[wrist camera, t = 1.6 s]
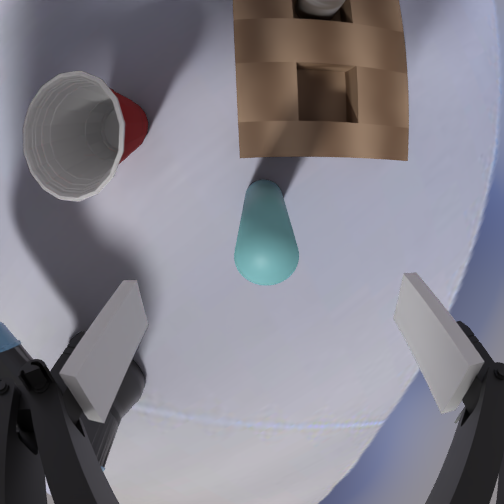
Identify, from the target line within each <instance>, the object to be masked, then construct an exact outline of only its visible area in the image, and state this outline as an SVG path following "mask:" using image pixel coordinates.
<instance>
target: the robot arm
mask: <svg viewBox="0 0 504 504" xmlns="http://www.w3.org/2000/svg"><path fill="white" fill-rule="evenodd" d="M393 319H394V321H395V323H396V324H397V326H398V328H399V330H400V332H401V334H402V335H403V337H404V339H405V341H406V343H407V345H408V347H409V349H410V350H411V352H412V354H413V356H414V358H415V360H416V362H417V364H418V366H419V368H420V370H421V372H422V374H423V376H424V378H425V380H426V382H427V384H428V386H429V388H430V390H431V393H432V395H433V397H434V399H435V401H436V403H437V405H438V407H439V410H440V412H441V414H443V413H447V412H450V411H453V410H456V409H457V407H458V406H459V404H460V403H461V401H463V403H464V404H465V407H464V409H463V410H462V412H461V413H460V415H459V416H458V417H457V419H456V421H455V423H457V422H458V421H459V423H458V426H457V429H456V432H455V435H454V438H453V441H452V444H451V446H450V449H449V452H448V454H447V457H446V459H445V462H444V464H443V467H442V469H441V471H440V474H439V476H438V478H437V480H436V483H435V485H434V487H433V489H432V491H431V493H430V495H429V497H428V499H427V501H426V503H425V504H489V503H490V500H491V497H492V494H493V491H494V488H495V484H496V481H497V477H498V474H499V481H498V491H497V501H496V504H504V364H503V363H498V362H497V363H495V362H494V361H493V360H492V358H491V357H490V356H489V354H488V353H487V351H486V350H485V348H484V347H483V346H482V344H481V343H480V342H479V340H478V339H477V338H476V336H474V333H473V332H472V331H471V330H470V328H469V327H468V326H466V325H465V324H464V323H462V322H461V321H457V322H456V321H455V320H454V319H453V317H452V316H451V315H450V313H449V312H448V311H447V310H446V308H445V307H444V306H443V304H442V303H441V302H440V301H439V299H438V298H437V297H436V296H435V295H434V293H433V292H432V291H431V290H430V288H429V287H428V286H427V285H426V284H425V282H424V281H423V280H422V279H421V278H420V277H419V275H418V274H417V273H403V278H402V283H401V287H400V292H399V296H398V301H397V305H396V309H395V313H394V317H393ZM148 325H149V324H148V321H147V317H146V313H145V310H144V306H143V302H142V298H141V294H140V291H139V286H138V282H137V280H123V282H122V283H121V284H120V286H119V287H118V288H117V290H116V291H115V292H114V294H113V295H112V296H111V298H110V299H109V300H108V302H107V303H106V305H105V306H104V307H103V309H102V310H101V311H100V313H99V314H98V316H97V317H96V318H95V320H94V321H93V323H92V324H91V326H90V327H89V329H88V330H87V331H86V332H80V333H79V334H77V335H76V336H75V337H74V338H73V339H72V340H71V341H70V343H69V344H68V346H67V348H66V349H65V350H64V352H63V354H62V355H61V356H60V358H59V359H58V360H57V362H56V364H55V365H54V367H53V368H52V370H51V371H49V369H48V368H47V366H46V364H45V362H43V361H42V360H39V359H33V358H32V357H31V356H30V355H29V354H28V352H27V351H26V350H25V349H24V348H23V346H22V345H21V342H20V341H19V340H17V339H16V338H15V337H14V336H13V334H12V333H11V332H10V331H9V330H8V328H7V327H6V326H5V325H4V324H3V323H2V322H0V504H47V497H46V485H45V476H46V479H47V483H48V486H49V489H50V492H51V495H52V497H53V500H54V503H55V504H119V502H118V500H117V499H116V497H115V495H114V493H113V491H112V489H111V487H110V485H109V483H108V481H107V479H106V477H105V475H104V473H103V471H104V470H105V468H104V467H105V464H106V461H107V458H108V455H109V452H110V449H111V446H112V443H113V441H114V438H115V435H116V432H117V429H118V426H119V424H120V421H121V419H122V417H123V416H124V415H125V414H126V413H127V412H128V411H129V410H130V409H131V408H132V406H133V405H134V404H135V403H136V402H137V401H138V400H139V399H140V397H141V395H142V392H143V390H144V387H145V379H144V376H143V374H142V372H141V370H140V368H139V367H138V365H137V364H136V363H135V362H134V361H133V360H132V359H133V356H134V354H135V352H136V350H137V348H138V346H139V344H140V341H141V339H142V337H143V335H144V333H145V331H146V329H147V327H148ZM459 419H460V420H459Z"/></svg>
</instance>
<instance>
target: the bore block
mask: <svg viewBox="0 0 504 504" xmlns="http://www.w3.org/2000/svg"><path fill="white" fill-rule="evenodd" d="M233 20H234V43H235V65H236V87H237V108H238V128H239V148H240V158H254V157H351V158H373V159H389V160H402V161H408V135H409V104H408V77H407V62H406V50H405V41H404V32H403V24H402V17H401V11H400V5H399V0H233Z"/></svg>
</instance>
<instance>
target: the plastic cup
mask: <svg viewBox="0 0 504 504" xmlns="http://www.w3.org/2000/svg"><path fill="white" fill-rule="evenodd" d="M147 130H148V120H147V117H146V114H145V112H144V111H143V110H142V108H141V107H140V106H139V105H138V104H136V103H134V102H133V101H132V100H130V99H128V98H126V97H124V96H122V95H120V94H118V93H116V92H114V90H113V89H110V88H109V87H108V86H107V85H106V83H105V82H104V81H103V80H102V79H100V78H98V77H95V76H93V75H90V74H88V73H85V72H83V71H74V72H67V73H61V74H59V75H57V76H56V77H54V78H53V79H51V80H50V81H48V82H47V83H46V84H44V85H43V86H42V87H41V88H40V90H39V91H38V93H37V94H36V95H35V97H34V98H33V100H32V102H31V103H30V105H29V107H28V111H27V114H26V118H25V122H24V125H23V151H24V154H25V158H26V161H27V164H28V167H29V170H30V172H31V174H32V175H33V177H34V178H35V179H36V181H37V182H38V183H39V185H40V186H41V187H42V189H43V190H45V191H47V192H48V193H50V194H51V195H53V196H55V197H56V198H58V199H60V200H68V201H77V202H79V201H82V200H84V199H87V198H89V197H92V196H94V195H97V194H98V193H99V192H100V191H101V190H102V189H103V188H104V187H105V186H106V184H107V183H108V182H109V181H110V180H111V179H112V178H113V177H114V175H115V172H116V170H117V167H118V165H119V164H120V163H121V162H122V161H123V160H124V159H125V158H127V157H128V156H129V155H130V154H131V153H132V152H133V151H134V150H136V149H137V148H138V147H139V146H140V145H141V144H142V142H143V141H144V138H145V136H146V134H147Z"/></svg>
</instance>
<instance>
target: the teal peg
mask: <svg viewBox="0 0 504 504" xmlns="http://www.w3.org/2000/svg"><path fill="white" fill-rule="evenodd" d="M234 259H235V264H236V267H237V269H238V271H239V272H240V274H241V275H242V276H243V277H244V278H246V279H247V280H249V281H250V282H252V283H255V284H259V285H274V284H278V283H280V282H282V281H284V280H286V279H287V278H288V277H290V276H291V275H292V273H293V272H294V271H295V269H296V267H297V264H298V261H299V251H298V247H297V244H296V240H295V236H294V233H293V229H292V226H291V222H290V219H289V216H288V212H287V209H286V205H285V202H284V199H283V195H282V192H281V190H280V188H279V187H278V185H277V184H275V183H274V182H272V181H269V180H258V181H256V182H254V183H252V184H251V185H250V186H249V188H248V189H247V191H246V195H245V200H244V205H243V211H242V216H241V221H240V226H239V231H238V237H237V242H236V247H235V253H234Z"/></svg>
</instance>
